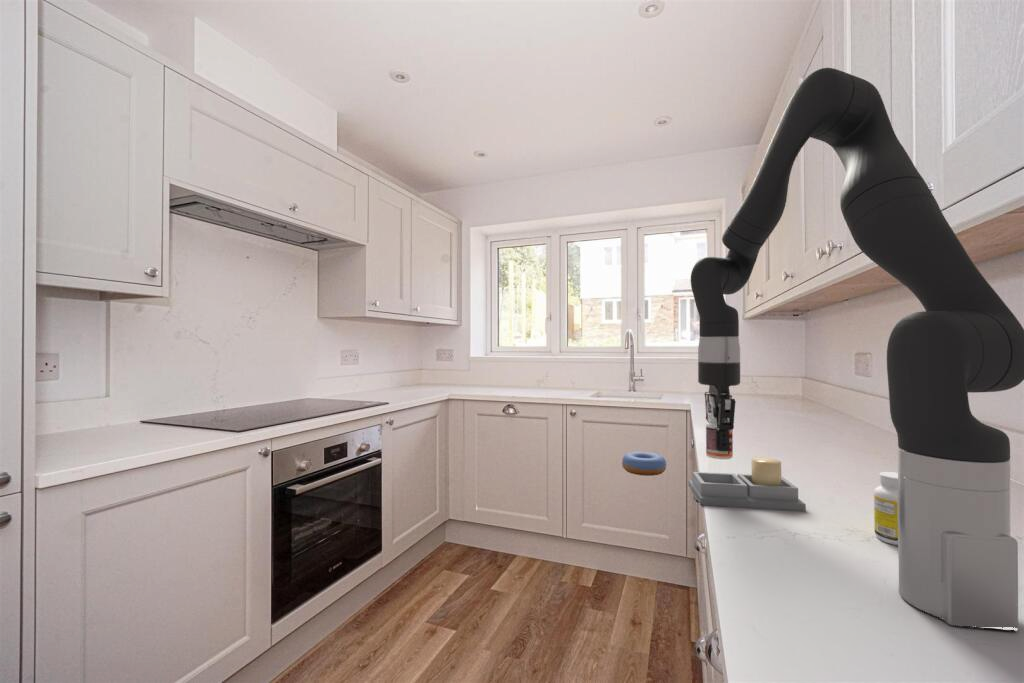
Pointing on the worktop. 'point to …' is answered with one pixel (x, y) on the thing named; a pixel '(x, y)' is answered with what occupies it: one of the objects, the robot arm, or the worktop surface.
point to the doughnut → (644, 463)
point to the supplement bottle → (886, 508)
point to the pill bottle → (711, 441)
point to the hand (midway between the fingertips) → (719, 447)
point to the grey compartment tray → (748, 488)
